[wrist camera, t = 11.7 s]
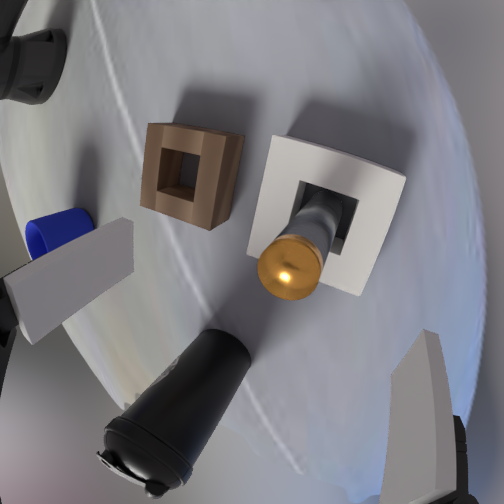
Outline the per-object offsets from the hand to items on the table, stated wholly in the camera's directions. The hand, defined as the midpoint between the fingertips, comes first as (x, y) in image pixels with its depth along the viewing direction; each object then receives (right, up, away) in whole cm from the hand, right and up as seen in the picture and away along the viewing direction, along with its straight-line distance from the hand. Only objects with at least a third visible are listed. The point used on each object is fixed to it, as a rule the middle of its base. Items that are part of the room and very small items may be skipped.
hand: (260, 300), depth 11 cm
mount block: (-6, +11, +18) cm, 22 cm away
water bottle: (-4, -12, +28) cm, 31 cm away
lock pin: (+7, +6, +15) cm, 17 cm away
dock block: (+7, +6, +15) cm, 17 cm away
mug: (-29, +5, +31) cm, 43 cm away
